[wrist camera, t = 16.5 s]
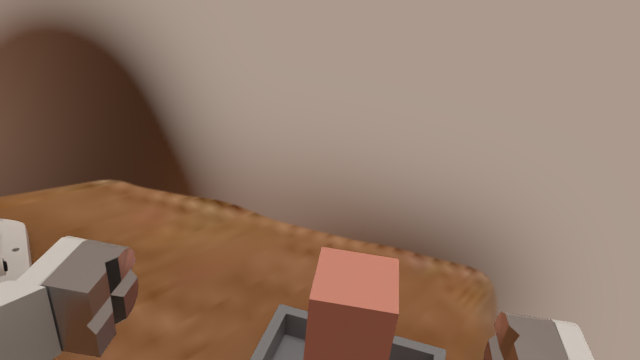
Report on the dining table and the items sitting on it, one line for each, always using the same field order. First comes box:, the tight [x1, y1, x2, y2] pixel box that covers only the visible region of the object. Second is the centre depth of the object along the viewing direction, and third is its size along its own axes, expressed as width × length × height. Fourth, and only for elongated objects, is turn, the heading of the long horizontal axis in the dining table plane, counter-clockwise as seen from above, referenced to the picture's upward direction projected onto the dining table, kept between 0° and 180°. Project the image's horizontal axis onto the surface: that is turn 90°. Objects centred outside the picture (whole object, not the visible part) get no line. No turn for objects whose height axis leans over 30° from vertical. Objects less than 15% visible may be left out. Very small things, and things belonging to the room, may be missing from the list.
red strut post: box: [303, 247, 399, 360], centre depth 29 cm, size 5×5×12 cm
